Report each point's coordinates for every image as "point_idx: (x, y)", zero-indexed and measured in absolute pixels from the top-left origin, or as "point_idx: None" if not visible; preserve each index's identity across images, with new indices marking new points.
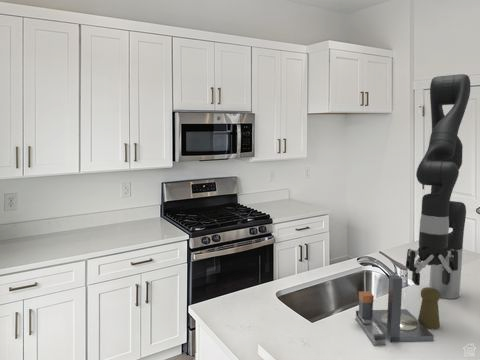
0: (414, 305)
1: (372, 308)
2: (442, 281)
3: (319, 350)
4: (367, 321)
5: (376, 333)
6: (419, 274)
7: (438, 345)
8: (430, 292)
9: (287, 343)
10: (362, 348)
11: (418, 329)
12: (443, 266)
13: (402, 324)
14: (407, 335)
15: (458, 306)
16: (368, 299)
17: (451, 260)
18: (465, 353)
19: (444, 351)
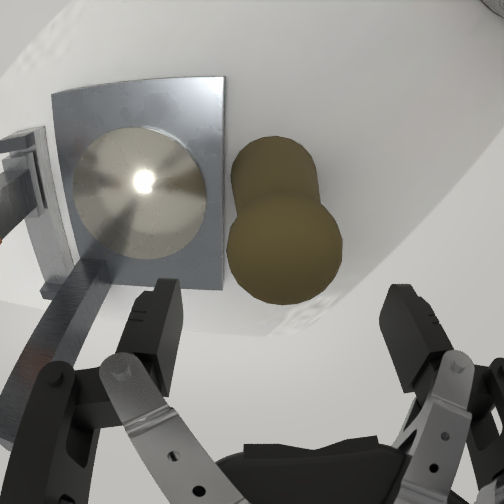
0: (316, 2)
1: (14, 226)
2: (393, 294)
3: None
4: (26, 216)
5: (52, 261)
6: (164, 389)
7: (226, 298)
8: (263, 297)
9: None
10: (32, 286)
11: (188, 252)
12: (398, 440)
13: (138, 226)
14: (137, 280)
15: (487, 69)
16: None
17: (492, 449)
18: (277, 331)
19: (226, 321)
